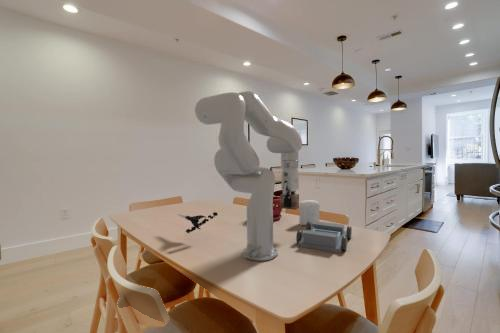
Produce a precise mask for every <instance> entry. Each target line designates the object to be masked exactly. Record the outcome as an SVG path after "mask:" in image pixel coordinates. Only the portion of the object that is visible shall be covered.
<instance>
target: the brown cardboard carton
mask: <svg viewBox="0 0 500 333" xmlns="http://www.w3.org/2000/svg"><path fill="white" fill-rule="evenodd" d="M287 193H288V194H289V192H287ZM279 197H280V208H282V209H287V210H299V209H300V194H299V193H295V194H291V208H288V207H284V194H283V193H280V195H279Z"/></svg>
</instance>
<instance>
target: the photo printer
mask: <svg viewBox="0 0 500 333" xmlns="http://www.w3.org/2000/svg"><path fill="white" fill-rule="evenodd" d="M319 202H320V201H317V200H314V199H309V200H308V199H305V200H302V201H299V219H298V220H299V225H300V226H306V225H307V222H308V221H309V222H312V226H314V224H315V223H316V222H317V221H319V222H320V203H319Z"/></svg>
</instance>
